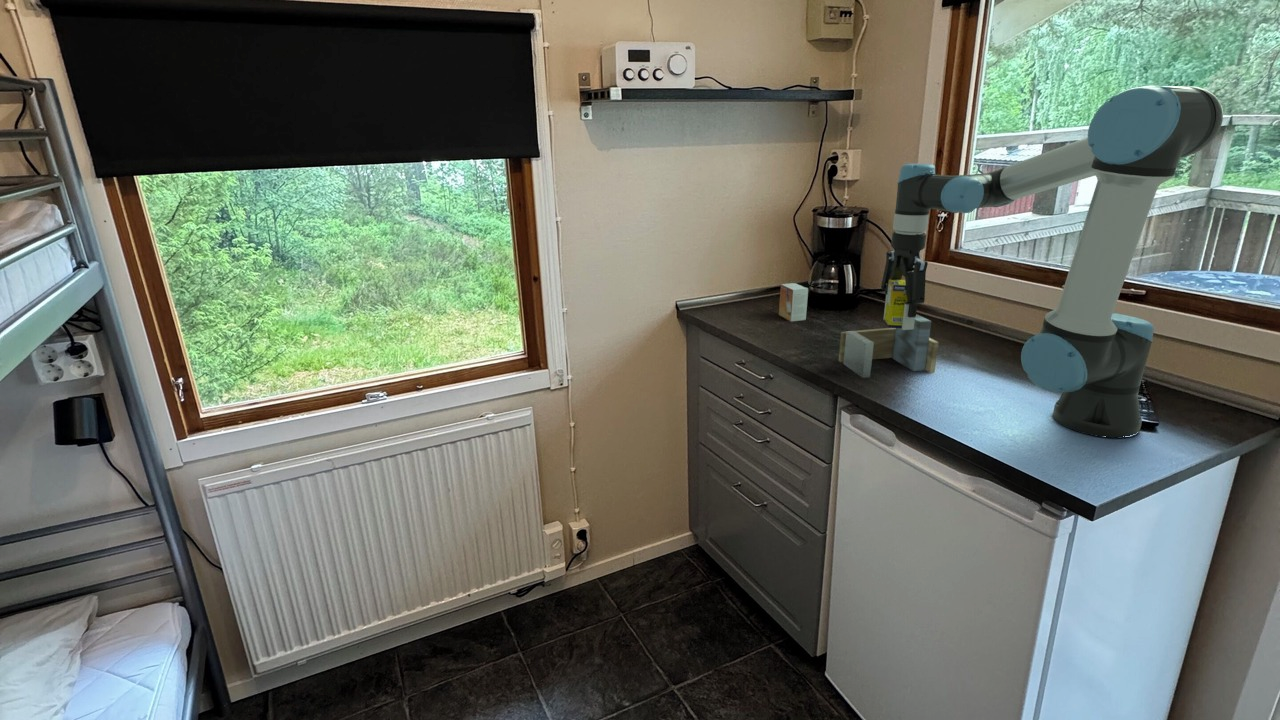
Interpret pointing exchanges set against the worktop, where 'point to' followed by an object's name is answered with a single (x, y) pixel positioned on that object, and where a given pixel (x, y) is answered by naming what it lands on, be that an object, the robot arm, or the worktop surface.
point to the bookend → (858, 353)
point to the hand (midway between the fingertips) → (898, 324)
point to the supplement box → (895, 303)
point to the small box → (793, 302)
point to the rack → (902, 345)
